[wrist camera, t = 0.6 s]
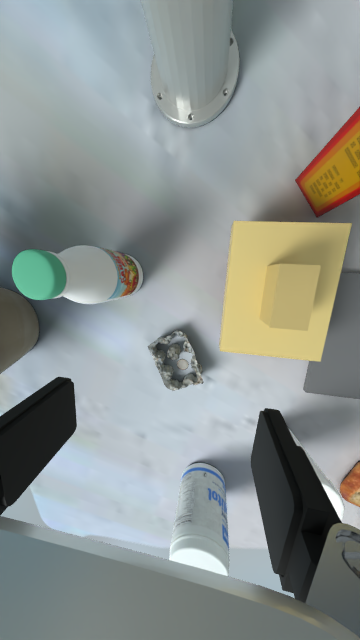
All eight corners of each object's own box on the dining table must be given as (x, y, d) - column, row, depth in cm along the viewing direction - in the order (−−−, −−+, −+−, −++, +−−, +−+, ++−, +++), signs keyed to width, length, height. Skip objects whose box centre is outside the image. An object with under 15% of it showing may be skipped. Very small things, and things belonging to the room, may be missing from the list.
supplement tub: (234, 480, 43) (245, 580, 29) (205, 502, 46) (203, 604, 31) (199, 452, 43) (194, 539, 29) (172, 476, 46) (155, 567, 31)
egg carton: (206, 374, 39) (205, 385, 35) (171, 385, 41) (167, 396, 37) (186, 325, 38) (183, 331, 34) (151, 338, 39) (144, 345, 35)
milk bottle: (127, 304, 38) (42, 333, 19) (97, 276, 38) (-20, 277, 19) (152, 274, 36) (87, 273, 17) (121, 244, 36) (19, 208, 17)
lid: (231, 226, 28) (239, 207, 21) (336, 229, 26) (388, 209, 19) (219, 344, 32) (221, 365, 24) (309, 353, 30) (343, 379, 23)
